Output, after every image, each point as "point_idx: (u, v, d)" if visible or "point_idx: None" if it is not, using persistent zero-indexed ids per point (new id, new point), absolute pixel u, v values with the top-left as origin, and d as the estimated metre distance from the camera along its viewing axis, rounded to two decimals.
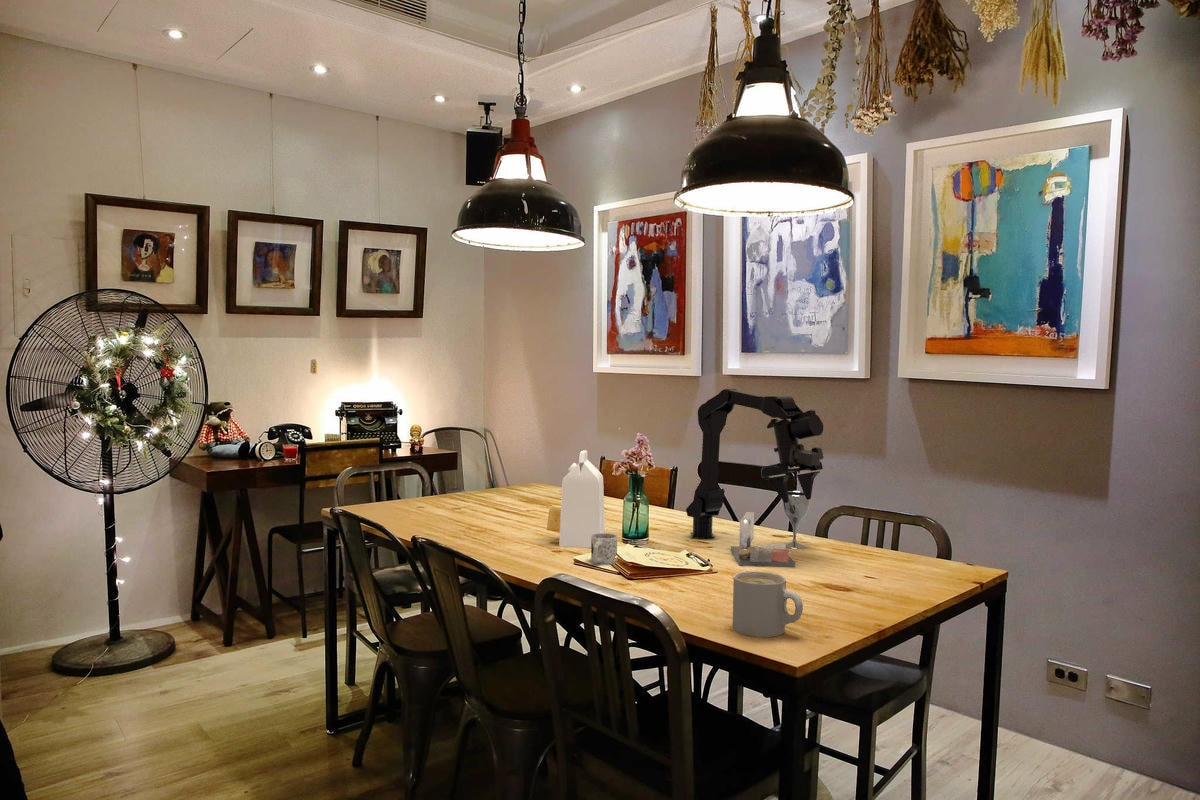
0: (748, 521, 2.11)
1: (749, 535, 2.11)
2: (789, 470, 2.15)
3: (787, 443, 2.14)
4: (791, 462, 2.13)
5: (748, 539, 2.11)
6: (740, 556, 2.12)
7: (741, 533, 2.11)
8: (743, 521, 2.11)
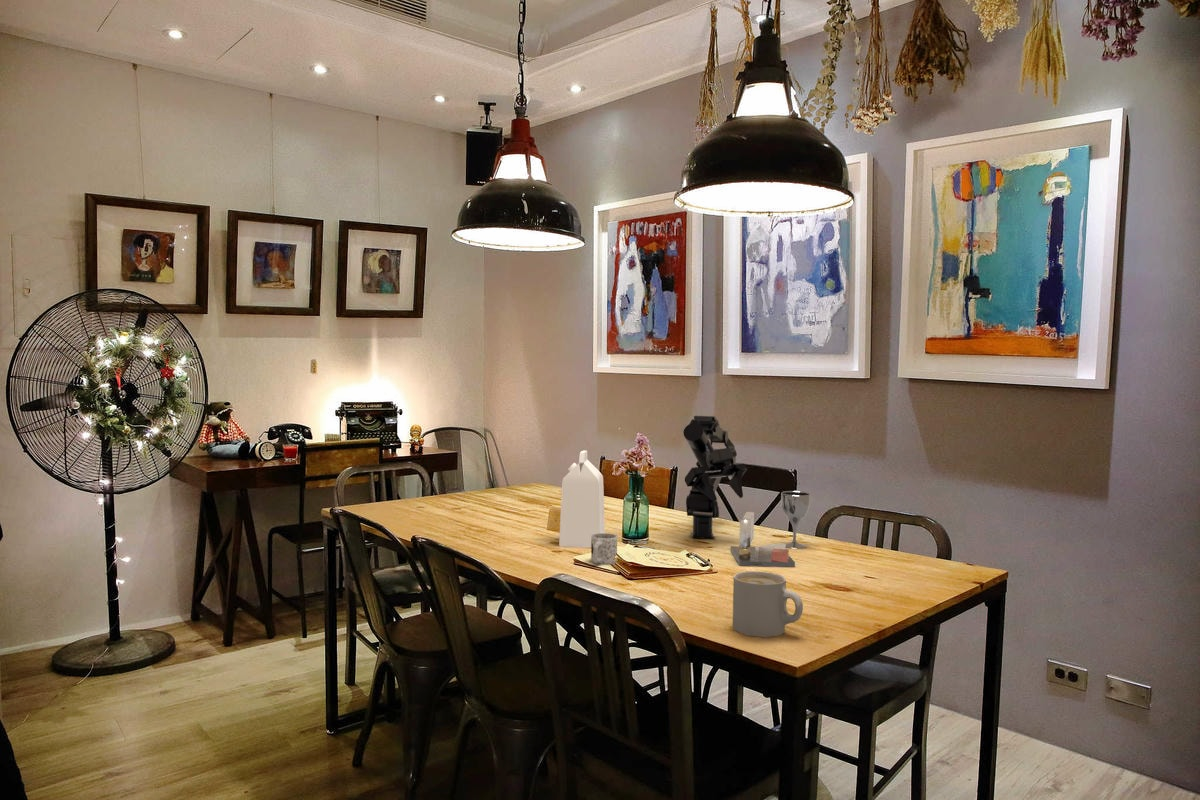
0: (748, 521, 2.11)
1: (749, 535, 2.11)
2: (712, 474, 2.31)
3: (702, 452, 2.34)
4: (709, 465, 2.30)
5: (748, 539, 2.11)
6: (740, 556, 2.12)
7: (741, 533, 2.11)
8: (743, 521, 2.11)
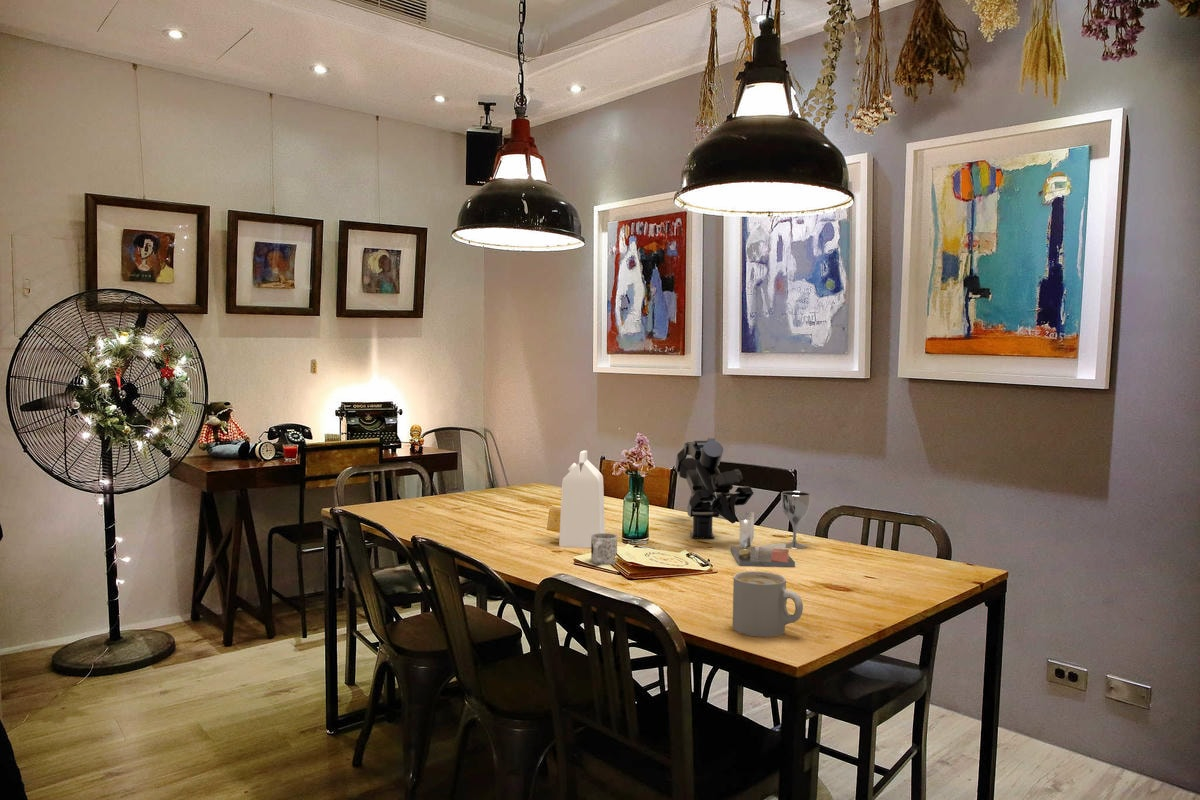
0: (748, 521, 2.11)
1: (749, 535, 2.11)
2: None
3: (708, 475, 2.32)
4: (714, 488, 2.28)
5: (748, 539, 2.11)
6: (740, 556, 2.12)
7: (741, 533, 2.11)
8: (743, 521, 2.11)
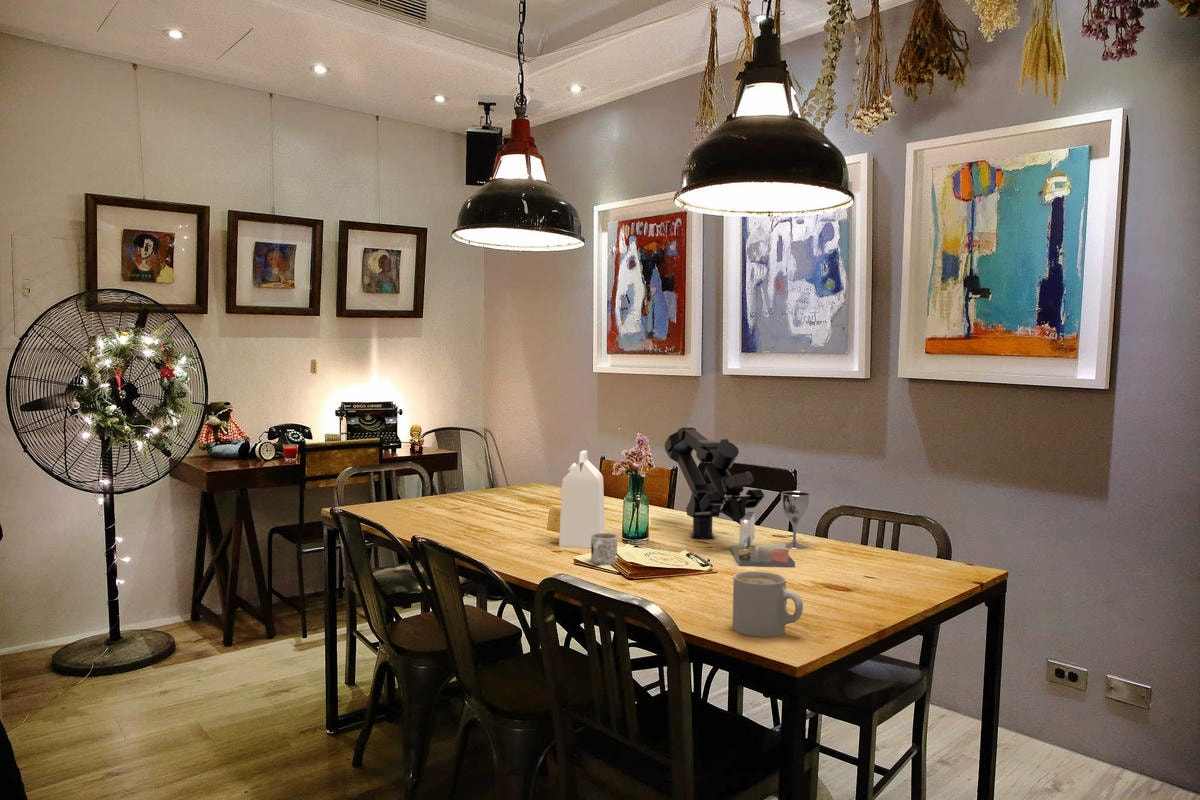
0: (748, 521, 2.11)
1: (749, 535, 2.11)
2: None
3: (718, 477, 2.28)
4: (725, 490, 2.24)
5: (748, 539, 2.11)
6: (740, 556, 2.12)
7: (741, 533, 2.11)
8: (743, 521, 2.11)
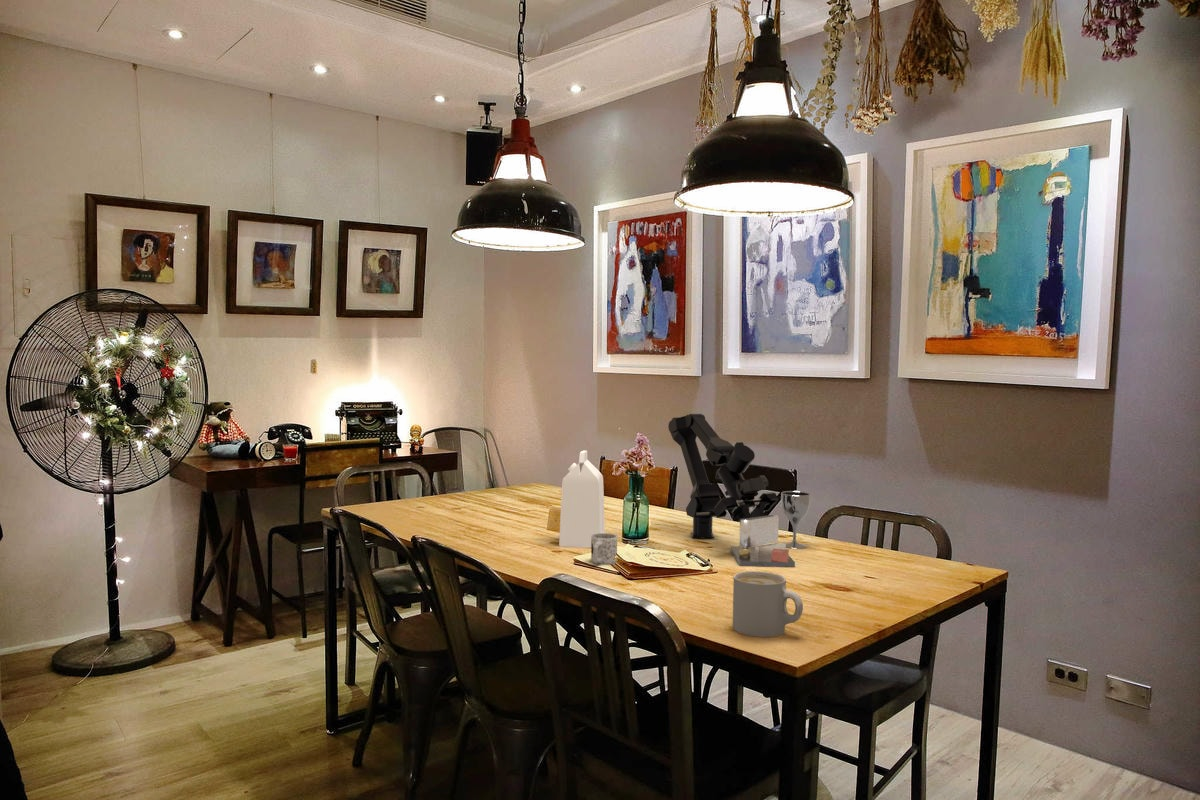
0: (745, 521, 2.11)
1: (746, 535, 2.11)
2: None
3: (732, 481, 2.23)
4: (739, 495, 2.20)
5: (745, 539, 2.11)
6: (740, 556, 2.12)
7: None
8: (740, 520, 2.11)
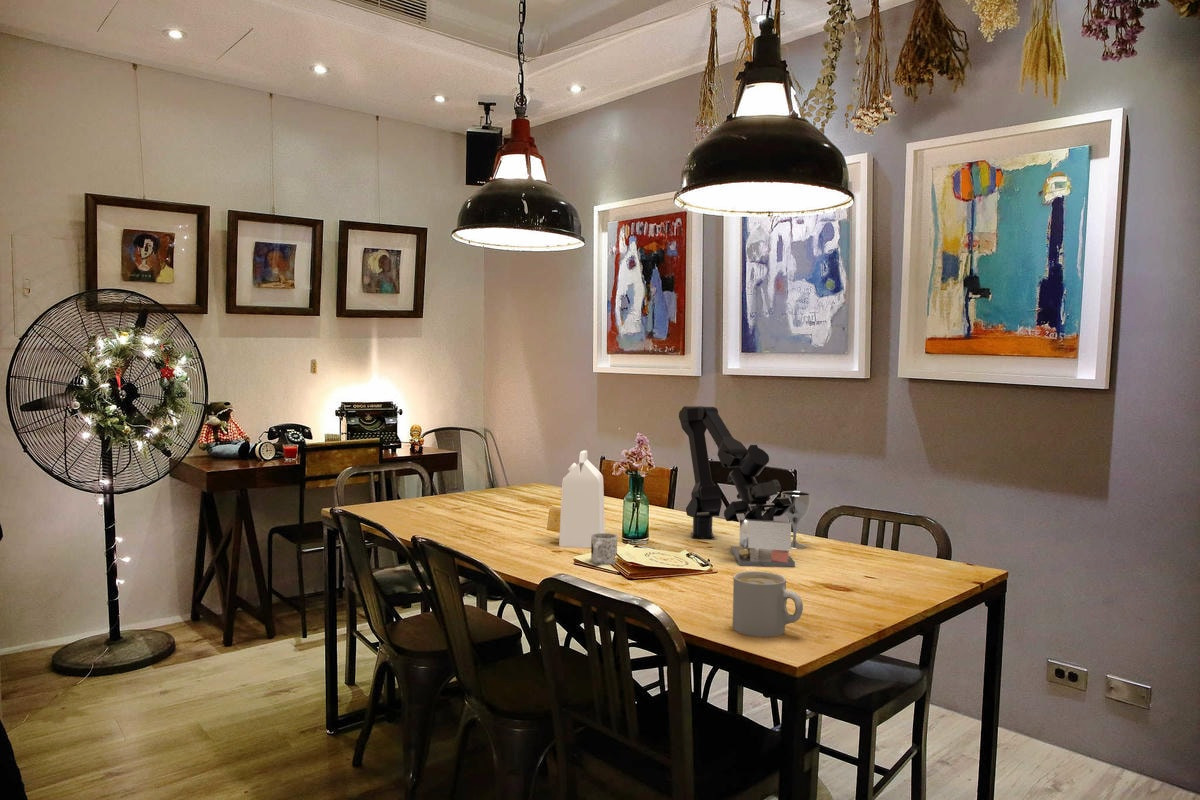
0: (741, 520, 2.11)
1: (742, 535, 2.11)
2: None
3: (744, 484, 2.18)
4: (751, 499, 2.15)
5: (740, 538, 2.11)
6: (740, 556, 2.12)
7: None
8: None
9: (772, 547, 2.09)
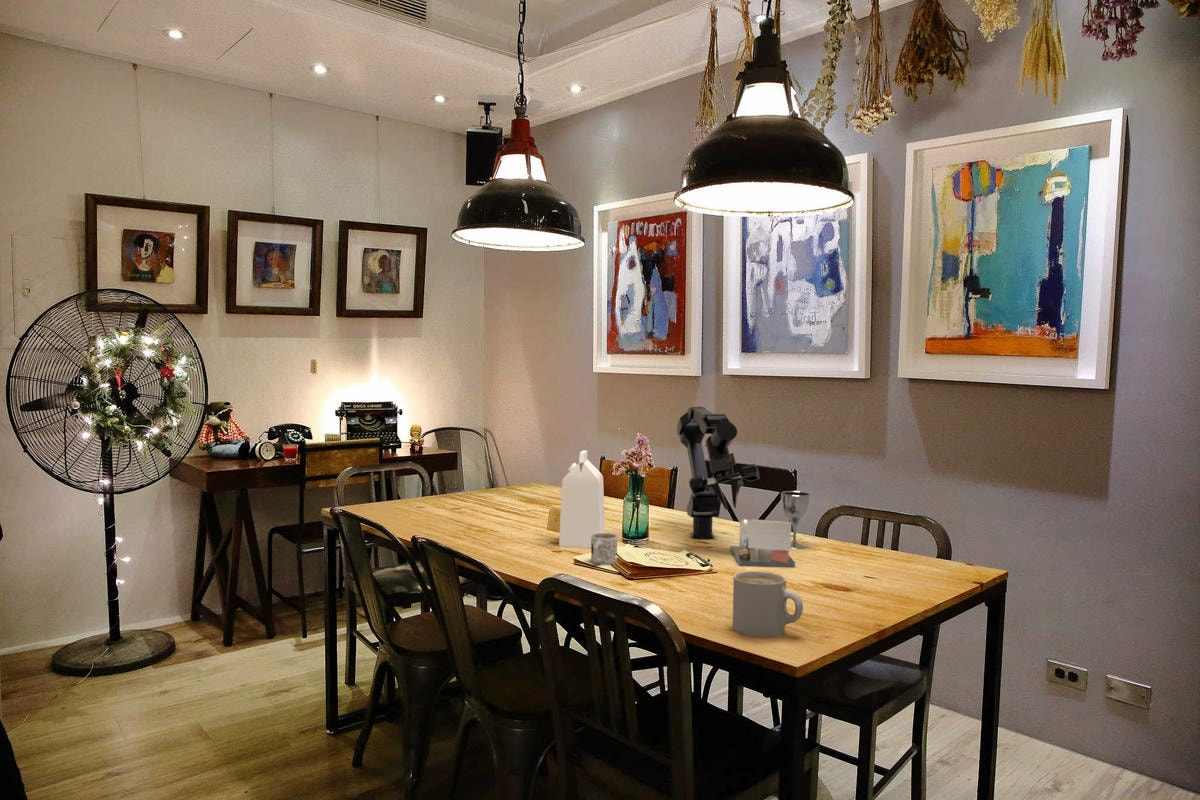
0: (741, 520, 2.11)
1: (742, 535, 2.11)
2: (718, 481, 2.24)
3: (710, 456, 2.26)
4: (711, 473, 2.23)
5: (740, 538, 2.11)
6: (740, 556, 2.12)
7: None
8: None
9: (772, 547, 2.09)
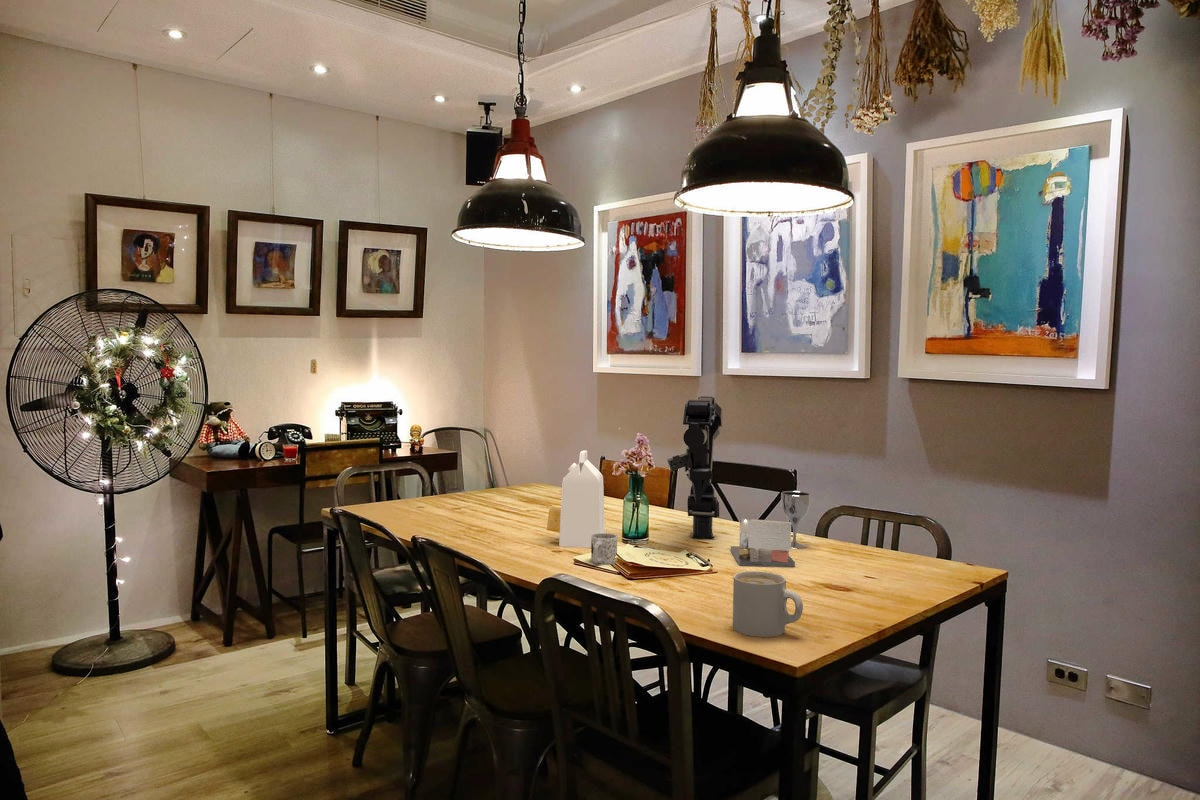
0: (741, 520, 2.11)
1: (742, 535, 2.11)
2: None
3: None
4: None
5: (740, 538, 2.11)
6: (740, 556, 2.12)
7: None
8: None
9: (772, 547, 2.09)
